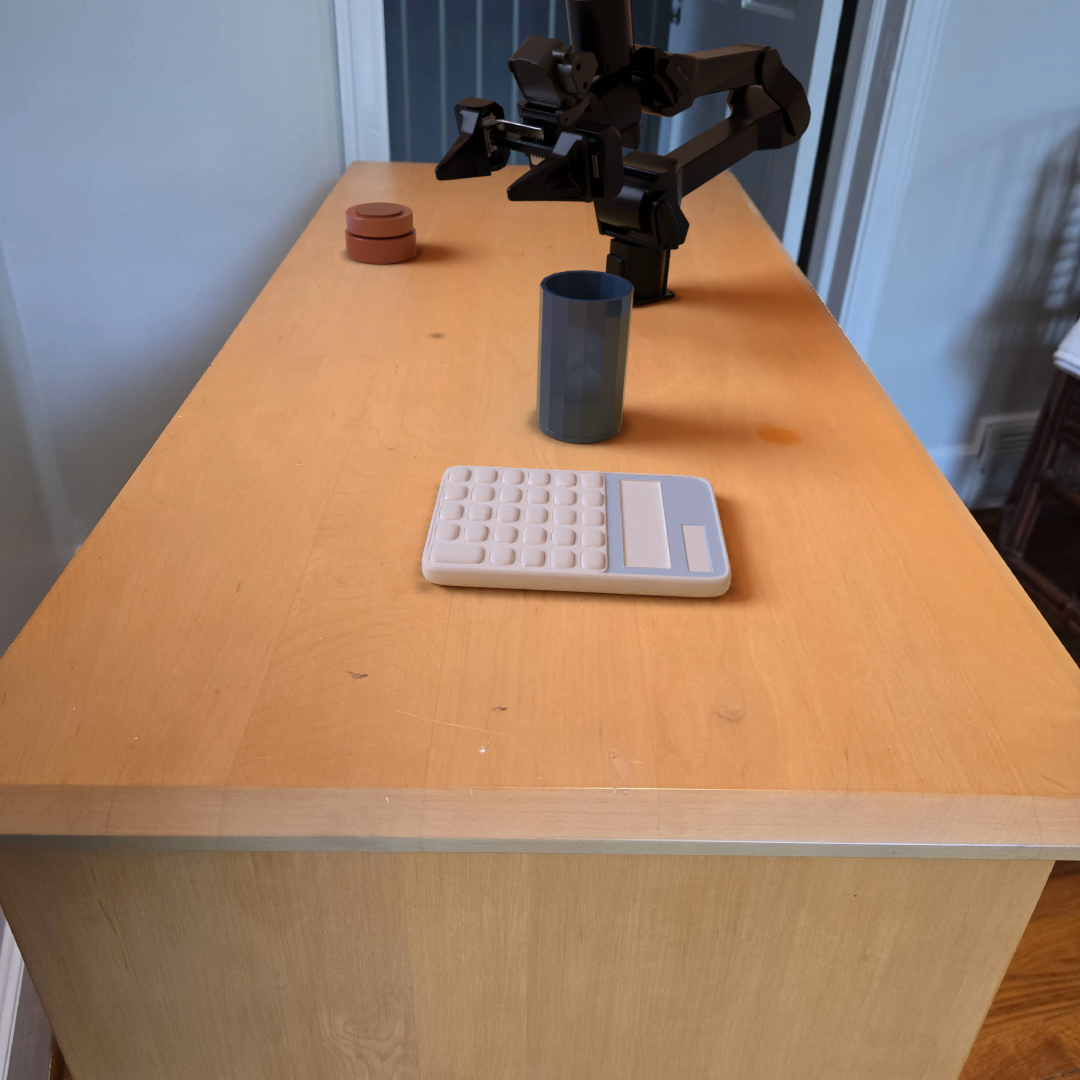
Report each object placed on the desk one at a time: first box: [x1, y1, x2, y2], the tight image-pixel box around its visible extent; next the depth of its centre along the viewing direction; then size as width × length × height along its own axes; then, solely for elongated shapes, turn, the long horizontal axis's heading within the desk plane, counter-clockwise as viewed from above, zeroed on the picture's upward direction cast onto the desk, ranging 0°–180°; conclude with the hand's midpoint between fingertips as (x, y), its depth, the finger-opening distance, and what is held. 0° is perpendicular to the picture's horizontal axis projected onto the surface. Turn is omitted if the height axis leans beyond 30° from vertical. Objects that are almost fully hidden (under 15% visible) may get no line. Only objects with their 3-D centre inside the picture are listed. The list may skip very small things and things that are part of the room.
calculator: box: [421, 465, 732, 598], centre depth 65 cm, size 13×20×2 cm, turn 88°
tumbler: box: [535, 269, 634, 444], centre depth 76 cm, size 7×7×12 cm
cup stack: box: [344, 201, 418, 265], centre depth 114 cm, size 9×9×5 cm
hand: (471, 184), depth 82 cm, fingers open, 9 cm apart
